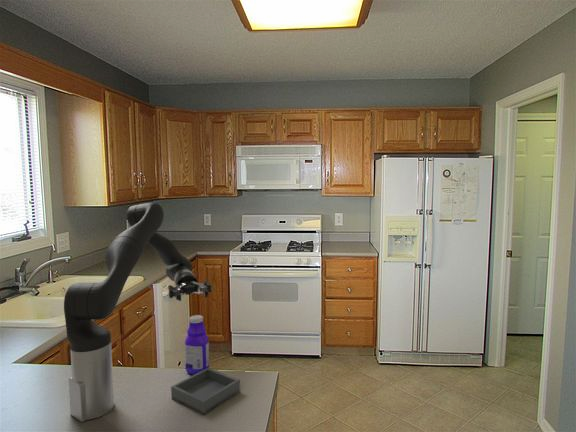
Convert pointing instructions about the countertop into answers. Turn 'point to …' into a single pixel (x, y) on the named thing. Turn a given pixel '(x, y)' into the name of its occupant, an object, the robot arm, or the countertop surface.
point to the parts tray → (205, 390)
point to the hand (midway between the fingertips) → (193, 296)
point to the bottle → (196, 346)
